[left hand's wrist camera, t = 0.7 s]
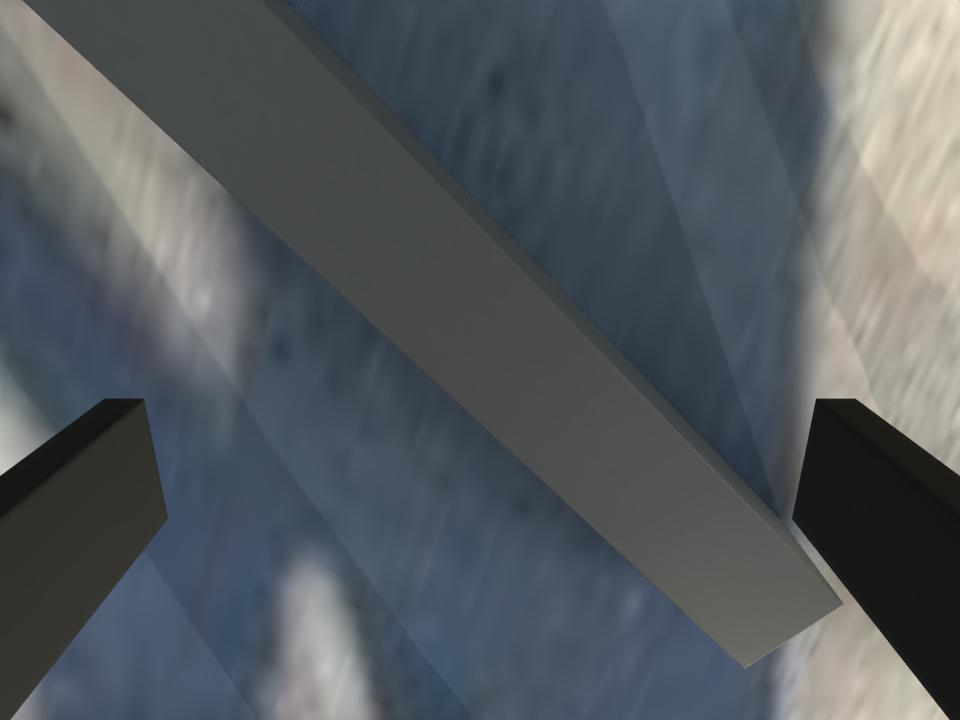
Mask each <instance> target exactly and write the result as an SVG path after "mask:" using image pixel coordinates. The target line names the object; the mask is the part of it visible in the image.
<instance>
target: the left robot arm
mask: <svg viewBox="0 0 960 720" xmlns="http://www.w3.org/2000/svg"><path fill="white" fill-rule="evenodd" d="M167 519H168V516H167V511H166V507H165V502H164V497H163V492H162V487H161V482H160V477H159V472H158V467H157V462H156V457H155V452H154V447H153V442H152V437H151V432H150V427H149V422H148V417H147V412H146V407H145V402H144V399H103V400H102V401H101V402H99V403H98V404H97V405H95V406H94V407H93V408H91V409H90V410H89V411H87V412H86V413H85V414H83V415H82V416H81V417H79V418H78V419H76V420H75V421H74V422H72V423H71V424H70V425H68V426H67V427H66V428H64V429H63V430H62V431H60V432H59V433H58V434H56V435H55V436H54V437H52V438H51V439H49V440H48V441H47V442H45V443H44V444H43V445H41V446H40V447H39V448H37V449H36V450H35V451H33V452H32V453H31V454H29V455H28V456H27V457H25V458H24V459H22V460H21V461H20V462H18V463H17V464H16V465H14V466H13V467H12V468H10V469H9V470H8V471H6V472H5V473H4V474H2V475H1V476H0V720H11V718H12V717H13V716H14V714H15V713H16V712H17V711H18V709H19V708H20V707H21V706H22V704H23V703H24V702H25V700H26V699H27V698H28V697H29V695H30V694H31V693H32V691H33V690H34V689H35V688H36V686H37V685H38V684H39V683H40V681H41V680H42V679H43V677H44V676H45V675H46V674H47V672H48V671H49V670H50V669H51V667H52V666H53V665H54V663H55V662H56V661H57V660H58V658H59V657H60V656H61V654H62V653H63V652H64V651H65V649H66V648H67V647H68V646H69V644H70V643H71V642H72V640H73V639H74V638H75V637H76V635H77V634H78V633H79V632H80V630H81V629H82V628H83V626H84V625H85V624H86V623H87V621H88V620H89V619H90V617H91V616H92V615H93V614H94V612H95V611H96V610H97V609H98V607H99V606H100V605H101V603H102V602H103V601H104V600H105V598H106V597H107V596H108V595H109V593H110V592H111V591H112V589H113V588H114V587H115V586H116V584H117V583H118V582H119V580H120V579H121V578H122V577H123V575H124V574H125V573H126V572H127V570H128V569H129V568H130V566H131V565H132V564H133V563H134V561H135V560H136V559H137V558H138V556H139V555H140V554H141V552H142V551H143V550H144V549H145V547H146V546H147V545H148V543H149V542H150V541H151V540H152V538H153V537H154V536H155V535H156V533H157V532H158V531H159V529H160V528H161V527H162V526H163V524H164V523H165V522H166V521H167ZM792 519H793V521H794V522H795V523H796V524H797V526H798V527H799V528H800V529H801V531H802V532H803V533H804V535H805V536H806V537H807V538H808V540H809V541H810V542H811V543H812V545H813V546H814V547H815V549H816V550H817V551H818V552H819V554H820V555H821V556H822V558H823V559H824V560H825V561H826V563H827V564H828V565H829V566H830V568H831V569H832V570H833V572H834V573H835V574H836V575H837V577H838V578H839V579H840V580H841V582H842V583H843V584H844V586H845V587H846V588H847V589H848V591H849V592H850V593H851V595H852V596H853V597H854V598H855V600H856V601H857V602H858V603H859V605H860V606H861V607H862V609H863V610H864V611H865V612H866V614H867V615H868V616H869V617H870V619H871V620H872V621H873V623H874V624H875V625H876V626H877V628H878V629H879V630H880V632H881V633H882V634H883V635H884V637H885V638H886V639H887V640H888V642H889V643H890V644H891V646H892V647H893V648H894V649H895V651H896V652H897V653H898V654H899V656H900V657H901V658H902V660H903V661H904V662H905V663H906V665H907V666H908V667H909V669H910V670H911V671H912V672H913V674H914V675H915V676H916V677H917V679H918V680H919V681H920V683H921V684H922V685H923V686H924V688H925V689H926V690H927V691H928V693H929V694H930V695H931V697H932V698H933V699H934V700H935V702H936V703H937V704H938V706H939V707H940V708H941V709H942V711H943V712H944V713H945V714H946V716H947V717H948V718H949V720H960V476H959V475H958V474H956V473H955V472H954V471H952V470H951V469H950V468H948V467H947V466H946V465H944V464H943V463H942V462H940V461H939V460H938V459H936V458H935V457H933V456H932V455H931V454H929V453H928V452H927V451H925V450H924V449H923V448H921V447H920V446H919V445H917V444H916V443H915V442H913V441H912V440H911V439H909V438H908V437H906V436H905V435H904V434H902V433H901V432H900V431H898V430H897V429H896V428H894V427H893V426H892V425H890V424H889V423H888V422H886V421H885V420H884V419H882V418H881V417H879V416H878V415H877V414H875V413H874V412H873V411H871V410H870V409H869V408H867V407H866V406H865V405H863V404H862V403H861V402H859V401H858V400H857V399H816V402H815V407H814V412H813V417H812V422H811V427H810V432H809V437H808V442H807V447H806V452H805V457H804V462H803V467H802V472H801V477H800V482H799V487H798V492H797V497H796V502H795V507H794V511H793V516H792Z"/></svg>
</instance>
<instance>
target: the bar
mask: <svg viewBox="0 0 960 720" xmlns="http://www.w3.org/2000/svg"><path fill="white" fill-rule="evenodd" d="M23 1H24V2H25V3H26V4H27V5H28V6H29V7H30V8H31V9H32V10H34V11H35V12H36V13H37V14H38V15H39V16H40V17H41V18H42V19H43V20H44V21H45V22H46V23H48V24H49V25H50V26H51V27H52V28H53V29H54V30H55V31H56V32H57V33H58V34H59V35H61V36H62V37H63V38H64V39H65V40H66V41H67V42H68V43H69V44H70V45H71V46H72V47H73V48H75V49H76V50H77V51H78V52H79V53H80V54H81V55H82V56H83V57H84V58H85V59H86V60H88V61H89V62H90V63H91V64H92V65H93V66H94V67H95V68H96V69H97V70H98V71H99V72H100V73H102V74H103V75H104V76H105V77H106V78H107V79H108V80H109V81H110V82H111V83H112V84H113V85H115V86H116V87H117V88H118V89H119V90H120V91H121V92H122V93H123V94H124V95H125V96H126V97H127V98H129V99H130V100H131V101H132V102H133V103H134V104H135V105H136V106H137V107H138V108H139V109H140V110H141V111H143V112H144V113H145V114H146V115H147V116H148V117H149V118H150V119H151V120H152V121H153V122H154V123H156V124H157V125H158V126H159V127H160V128H161V129H162V130H163V131H164V132H165V133H166V134H167V135H168V136H170V137H171V138H172V139H173V140H174V141H175V142H176V143H177V144H178V145H179V146H180V147H181V148H183V149H184V150H185V151H186V152H187V153H188V154H189V155H190V156H191V157H192V158H193V159H194V160H195V161H197V162H198V163H199V164H200V165H201V166H202V167H203V168H204V169H205V170H206V171H207V172H208V173H210V174H211V175H212V176H213V177H214V178H215V179H216V180H217V181H218V182H219V183H220V184H221V185H222V186H224V187H225V188H226V189H227V190H228V191H229V192H230V193H231V194H232V195H233V196H234V197H235V198H237V199H238V200H239V201H240V202H241V203H242V204H243V205H244V206H245V207H246V208H247V209H248V210H249V211H251V212H252V213H253V214H254V215H255V216H256V217H257V218H258V219H259V220H260V221H261V222H262V223H264V224H265V225H266V226H267V227H268V228H269V229H270V230H271V231H272V232H273V233H274V234H275V235H276V236H278V237H279V238H280V239H281V240H282V241H283V242H284V243H285V244H286V245H287V246H288V247H289V248H291V249H292V250H293V251H294V252H295V253H296V254H297V255H298V256H299V257H300V258H301V259H302V260H303V261H305V262H306V263H307V264H308V265H309V266H310V267H311V268H312V269H313V270H314V271H315V272H316V273H318V274H319V275H320V276H321V277H322V278H323V279H324V280H325V281H326V282H327V283H328V284H329V285H330V286H332V287H333V288H334V289H335V290H336V291H337V292H338V293H339V294H340V295H341V296H342V297H343V298H344V299H346V300H347V301H348V302H349V303H350V304H351V305H352V306H353V307H354V308H355V309H356V310H357V311H359V312H360V313H361V314H362V315H363V316H364V317H365V318H366V319H367V320H368V321H369V322H370V323H371V324H373V325H374V326H375V327H376V328H377V329H378V330H379V331H380V332H381V333H382V334H383V335H384V336H386V337H387V338H388V339H389V340H390V341H391V342H392V343H393V344H394V345H395V346H396V347H397V348H398V349H400V350H401V351H402V352H403V353H404V354H405V355H406V356H407V357H408V358H409V359H410V360H411V361H413V362H414V363H415V364H416V365H417V366H418V367H419V368H420V369H421V370H422V371H423V372H424V373H425V374H427V375H428V376H429V377H430V378H431V379H432V380H433V381H434V382H435V383H436V384H437V385H438V386H440V387H441V388H442V389H443V390H444V391H445V392H446V393H447V394H448V395H449V396H450V397H451V398H452V399H454V400H455V401H456V402H457V403H458V404H459V405H460V406H461V407H462V408H463V409H464V410H465V411H467V412H468V413H469V414H470V415H471V416H472V417H473V418H474V419H475V420H476V421H477V422H478V423H479V424H481V425H482V426H483V427H484V428H485V429H486V430H487V431H488V432H489V433H490V434H491V435H492V436H494V437H495V438H496V439H497V440H498V441H499V442H500V443H501V444H502V445H503V446H504V447H505V448H506V449H508V450H509V451H510V452H511V453H512V454H513V455H514V456H515V457H516V458H517V459H518V460H519V461H521V462H522V463H523V464H524V465H525V466H526V467H527V468H528V469H529V470H530V471H531V472H532V473H533V474H535V475H536V476H537V477H538V478H539V479H540V480H541V481H542V482H543V483H544V484H545V485H546V486H547V487H549V488H550V489H551V490H552V491H553V492H554V493H555V494H556V495H557V496H558V497H559V498H560V499H562V500H563V501H564V502H565V503H566V504H567V505H568V506H569V507H570V508H571V509H572V510H573V511H574V512H576V513H577V514H578V515H579V516H580V517H581V518H582V519H583V520H584V521H585V522H586V523H587V524H589V525H590V526H591V527H592V528H593V529H594V530H595V531H596V532H597V533H598V534H599V535H600V536H601V537H603V538H604V539H605V540H606V541H607V542H608V543H609V544H610V545H611V546H612V547H613V548H614V549H616V550H617V551H618V552H619V553H620V554H621V555H622V556H623V557H624V558H625V559H626V560H627V561H628V562H630V563H631V564H632V565H633V566H634V567H635V568H636V569H637V570H638V571H639V572H640V573H641V574H643V575H644V576H645V577H646V578H647V579H648V580H649V581H650V582H651V583H652V584H653V585H654V586H655V587H657V588H658V589H659V590H660V591H661V592H662V593H663V594H664V595H665V596H666V597H667V598H668V599H670V600H671V601H672V602H673V603H674V604H675V605H676V606H677V607H678V608H679V609H680V610H681V611H682V612H684V613H685V614H686V615H687V616H688V617H689V618H690V619H691V620H692V621H693V622H694V623H695V624H697V625H698V626H699V627H700V628H701V629H702V630H703V631H704V632H705V633H706V634H707V635H708V636H709V637H711V638H712V639H713V640H714V641H715V642H716V643H717V644H718V645H719V646H720V647H721V648H722V649H724V650H725V651H726V652H727V653H728V654H729V655H730V656H731V657H732V658H733V659H734V660H735V661H736V662H738V663H739V664H740V665H741V666H742V667H743V668H746V667H748V666H749V665H751V664H752V663H754V662H755V661H757V660H758V659H760V658H762V657H763V656H765V655H766V654H768V653H769V652H771V651H772V650H774V649H775V648H777V647H779V646H780V645H782V644H783V643H785V642H786V641H788V640H789V639H791V638H792V637H794V636H795V635H797V634H799V633H800V632H802V631H803V630H805V629H806V628H808V627H809V626H811V625H812V624H814V623H815V622H817V621H819V620H820V619H822V618H823V617H825V616H826V615H828V614H829V613H831V612H832V611H834V610H835V609H837V608H839V607H840V606H842V605H843V602H842V601H841V600H840V598H839V597H838V596H837V594H836V593H835V592H834V590H833V589H832V588H831V586H830V585H829V584H828V582H827V581H826V580H825V578H824V577H823V575H822V574H821V573H820V571H819V570H818V569H817V567H816V566H815V565H814V563H813V562H812V561H811V559H810V558H809V557H808V555H807V554H806V553H805V551H804V550H803V549H802V547H801V546H800V545H799V543H798V542H797V541H796V539H795V538H794V537H793V535H792V534H791V533H790V531H789V530H788V529H787V527H786V526H785V525H784V523H783V522H782V521H781V520H780V519H779V518H778V516H777V515H776V514H775V513H774V512H773V511H772V510H771V509H770V508H769V507H768V506H767V505H766V504H765V503H764V502H763V501H762V500H761V499H760V498H759V497H758V495H757V494H756V493H755V492H754V491H753V490H752V489H751V488H750V487H749V486H748V485H747V484H746V483H745V482H744V481H743V480H742V479H741V478H740V477H739V476H738V474H737V473H736V472H735V471H734V470H733V469H732V468H731V467H730V466H729V465H728V464H727V463H726V462H725V461H724V460H723V459H722V458H721V457H720V456H719V455H718V453H717V452H716V451H715V450H714V449H713V448H712V447H711V446H710V445H709V444H708V443H707V442H706V441H705V440H704V439H703V438H702V437H701V436H700V435H699V433H698V432H697V431H696V430H695V429H694V428H693V427H692V426H691V425H690V424H689V423H688V422H687V421H686V420H685V419H684V418H683V417H682V416H681V415H680V414H679V412H678V411H677V410H676V409H675V408H674V407H673V406H672V405H671V404H670V403H669V402H668V401H667V400H666V399H665V398H664V397H663V396H662V395H661V394H660V393H659V391H658V390H657V389H656V388H655V387H654V386H653V385H652V384H651V383H650V382H649V381H648V380H647V379H646V378H645V377H644V376H643V375H642V374H641V373H640V372H639V370H638V369H637V368H636V367H635V366H634V365H633V364H632V363H631V362H630V361H629V360H628V359H627V358H626V357H625V356H624V355H623V354H622V353H621V352H620V351H619V349H618V348H617V347H616V346H615V345H614V344H613V343H612V342H611V341H610V340H609V339H608V338H607V337H606V336H605V335H604V334H603V333H602V332H601V331H600V329H599V328H598V327H597V326H596V325H595V324H594V323H593V322H592V321H591V320H590V319H589V318H588V317H587V316H586V315H585V314H584V313H583V312H582V311H581V310H580V308H579V307H578V306H577V305H576V304H575V303H574V302H573V301H572V300H571V299H570V298H569V297H568V296H567V295H566V294H565V293H564V292H563V291H562V290H561V289H560V287H559V286H558V285H557V284H556V283H555V282H554V281H553V280H552V279H551V278H550V277H549V276H548V275H547V274H546V273H545V272H544V271H543V270H542V269H541V268H540V266H539V265H538V264H537V263H536V262H535V261H534V260H533V259H532V258H531V257H530V256H529V255H528V254H527V253H526V252H525V251H524V250H523V249H522V248H521V246H520V245H519V244H518V243H517V242H516V241H515V240H514V239H513V238H512V237H511V236H510V235H509V234H508V233H507V232H506V231H505V230H504V229H503V228H502V227H501V225H500V224H499V223H498V222H497V221H496V220H495V219H494V218H493V217H492V216H491V215H490V214H489V213H488V212H487V211H486V210H485V209H484V208H483V207H482V206H481V204H480V203H479V202H478V201H477V200H476V199H475V198H474V197H473V196H472V195H471V194H470V193H469V192H468V191H467V190H466V189H465V188H464V187H463V186H462V185H461V183H460V182H459V181H458V180H457V179H456V178H455V177H454V176H453V175H452V174H451V173H450V172H449V171H448V170H447V169H446V168H445V167H444V166H443V165H442V164H441V162H440V161H439V160H438V159H437V158H436V157H435V156H434V155H433V154H432V153H431V152H430V151H429V150H428V149H427V148H426V147H425V146H424V145H423V144H422V142H421V141H420V140H419V139H418V138H417V137H416V136H415V135H414V134H413V133H412V132H411V131H410V130H409V129H408V128H407V127H406V126H405V125H404V124H403V123H402V121H401V120H400V119H399V118H398V117H397V116H396V115H395V114H394V113H393V112H392V111H391V110H390V109H389V108H388V107H387V106H386V105H385V104H384V103H383V102H382V100H381V99H380V98H379V97H378V96H377V95H376V94H375V93H374V92H373V91H372V90H371V89H370V88H369V87H368V86H367V85H366V84H365V83H364V82H363V81H362V79H361V78H360V77H359V76H358V75H357V74H356V73H355V72H354V71H353V70H352V69H351V68H350V67H349V66H348V65H347V64H346V63H345V62H344V61H343V59H342V58H341V57H340V56H339V55H338V54H337V53H336V52H335V51H334V50H333V49H332V48H331V47H330V46H329V45H328V44H327V43H326V42H325V41H324V40H323V38H322V37H321V36H320V35H319V34H318V33H317V32H316V31H315V30H314V29H313V28H312V27H311V26H310V25H309V24H308V23H307V22H306V21H305V20H304V19H303V17H302V16H301V15H300V14H299V13H298V12H297V11H296V10H295V9H294V8H293V7H292V6H291V5H290V4H289V3H288V2H287V1H286V0H23Z"/></svg>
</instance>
